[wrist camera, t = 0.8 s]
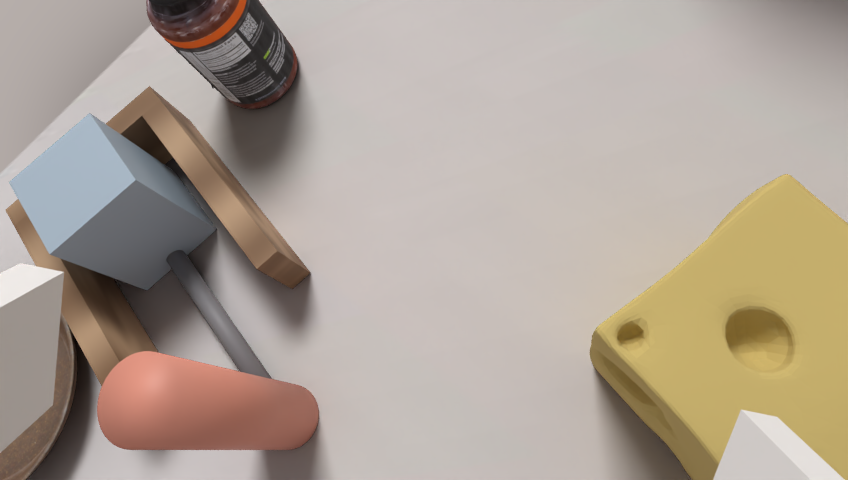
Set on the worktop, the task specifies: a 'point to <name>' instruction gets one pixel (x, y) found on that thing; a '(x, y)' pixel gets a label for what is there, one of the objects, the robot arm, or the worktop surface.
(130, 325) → the wooden u-shaped frame
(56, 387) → the saucer
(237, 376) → the block
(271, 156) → the worktop surface
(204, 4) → the supplement bottle
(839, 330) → the cheese
